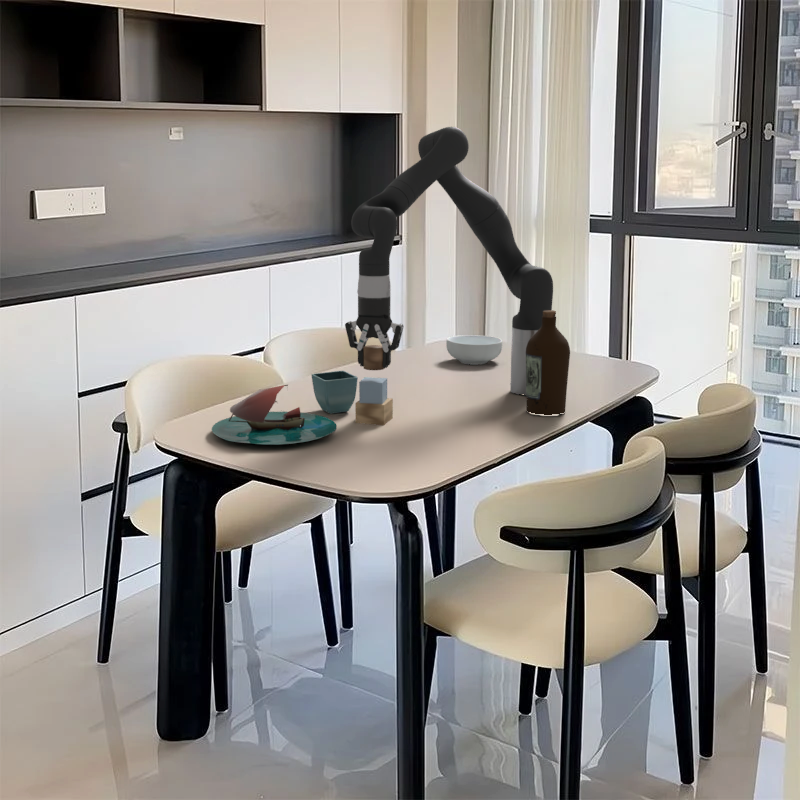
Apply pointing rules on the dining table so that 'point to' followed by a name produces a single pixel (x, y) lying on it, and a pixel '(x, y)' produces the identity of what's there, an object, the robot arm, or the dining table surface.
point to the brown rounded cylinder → (373, 357)
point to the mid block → (373, 390)
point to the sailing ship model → (270, 422)
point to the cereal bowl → (474, 348)
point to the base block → (374, 412)
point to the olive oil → (547, 368)
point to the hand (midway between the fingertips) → (374, 366)
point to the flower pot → (334, 390)
